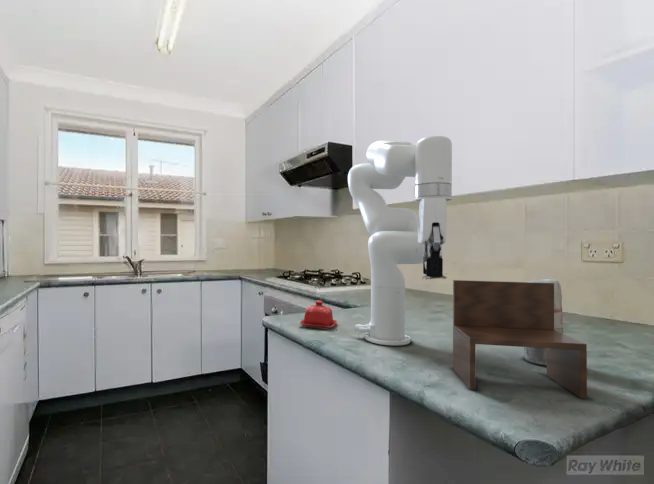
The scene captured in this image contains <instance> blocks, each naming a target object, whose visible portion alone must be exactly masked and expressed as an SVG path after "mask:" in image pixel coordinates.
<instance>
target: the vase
mask: <svg viewBox="0 0 654 484" xmlns="http://www.w3.org/2000/svg"><path fill="white" fill-rule="evenodd" d="M424 256H425V257H424V258H423V261H424V264H425V268H426V258H428V252H425V253H424ZM446 275H448V273H445V275H443V276H442V277H427V276H426V275H423V276H421V280H434V279H435V280H436V279H442V280H446V279H447V276H446Z"/></svg>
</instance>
